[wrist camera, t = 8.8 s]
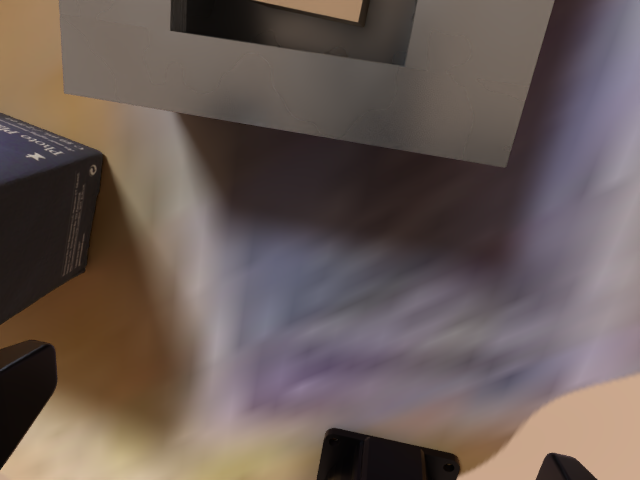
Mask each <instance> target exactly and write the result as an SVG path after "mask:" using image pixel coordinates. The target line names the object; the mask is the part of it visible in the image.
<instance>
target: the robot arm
mask: <svg viewBox="0 0 640 480" xmlns="http://www.w3.org/2000/svg"><path fill="white" fill-rule="evenodd" d="M56 385H57V366H56V352H55V348H54V346H53V345H51V344H50V343H46V342H41V341H36V340H28V341H25V342H22V343H19V344H16V345H12V346H9V347H6V348H3V349H0V470H1V468H2V467H3V466H4V464H5V463H6V462H7V460H8V459H9V457H10V456H11V455H12V453H13V452H14V450H15V449H16V447H17V446H18V444H19V443H20V441H21V440H22V439H23V437H24V436H25V434H26V433H27V431H28V430H29V428H30V427H31V425H32V424H33V422H34V421H35V419H36V418H37V416H38V415H39V414H40V412H41V411H42V409H43V408H44V406H45V405H46V403H47V402H48V400H49V399H50V397H51V396H52V394H53V393H54V391H55V388H56ZM332 438H336V439H338V440H332ZM445 464H451V465H445ZM459 470H460V466H459V460H458V458H457V457H456V456H455V455H454V454H451V453H447V452H442V451H438V450H433V449H429V448H424V447H419V446H415V445H410V444H406V443H401V442H397V441H392V440H387V439H383V438H378V437H374V436H369V435H365V434H360V433H355V432H351V431H346V430H342V429H337V428H331V429H329V430H327V431H326V433H325V437H324V443H323V448H322V453H321V459H320V464H319V469H318V475H317V480H456V479H457V476H458V473H459ZM536 480H597V479H596V478H595V477H594V476H593V475H592V474H591V473H590V472H589V471H588V470H587V469H586V468H585V467H584V466H583V465H582V464H581V463H580V462H579V461H577V460H576V459H575V458H573V457H570V456H566V455H561V454H557V453H549V454H547V456H546V457H545V459H544V461H543V464H542V466H541V468H540V470H539V473H538V475H537V478H536Z"/></svg>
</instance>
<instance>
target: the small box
mask: <svg viewBox="0 0 640 480" xmlns="http://www.w3.org/2000/svg"><path fill="white" fill-rule="evenodd" d="M102 161H103V154H102V153H101V152H100V151H98V150H96V149H93V148H90V147H88V146H85V145H83V144H80V143H77V142H75V141H72V140H70V139H67V138H65V137H62V136H59V135H57V134H54V133H52V132H49V131H47V130H44V129H41V128H39V127H36V126H34V125H31V124H29V123H26V122H23V121H21V120H18V119H15V118H13V117H10V116H8V115H5V114H3V113H0V325H1V324H2V323H4V322H5V321H7V320H8V319H9V318H11V317H13V316H14V315H16V314H17V313H19V312H21V311H22V310H24V309H25V308H27V307H28V306H30V305H31V304H33V303H34V302H36V301H37V300H38V299H40V298H41V297H43V296H45V295H46V294H48V293H49V292H51V291H52V290H54V289H55V288H57V287H59V286H61V285H62V284H64V283H65V282H67V281H69V280H70V279H72V278H74V277H76V276H78V275H79V274H81V273H84V272H85V267H86V265H87V258H88V257H87V251H88V248H89V239H90V233H91V228H92V221H93V215H94V212H95V205H96V199H97V195H98V194H99V191H100V189H99V188H100V179H101V167H102Z"/></svg>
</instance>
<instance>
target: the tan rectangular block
mask: <svg viewBox="0 0 640 480" xmlns="http://www.w3.org/2000/svg"><path fill="white" fill-rule="evenodd" d="M249 1H252V2H255V3H258V4H260V5H263V6H266V7H270V8H275V9H279V10H284V11H289V12H293V13H298V14H303V15H307V16H312V17H317V18H321V19H326V20H331V21H335V22H340V23H345V24H350V25H354V26H359V27H364V26H365V22H366V17H367V12H368V8H369V3H370V0H249Z"/></svg>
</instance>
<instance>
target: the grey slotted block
mask: <svg viewBox="0 0 640 480" xmlns="http://www.w3.org/2000/svg"><path fill="white" fill-rule="evenodd" d="M554 1H555V0H370V3H369V8H368V12H367V17H366V22H365V26H364V27H359V26H354V25H350V24H345V23H340V22H335V21H331V20H326V19H321V18H317V17H312V16H307V15H303V14H298V13H293V12H289V11H284V10H279V9H275V8H270V7H266V6H263V5H260V4H258V3H255V2H252V1H249V0H59V10H60V28H61V46H62V63H63V81H64V93H65V94H71V95H77V96H83V97H89V98H95V99H101V100H107V101H113V102H119V103H125V104H131V105H136V106H142V107H148V108H154V109H160V110H166V111H172V112H178V113H184V114H190V115H196V116H202V117H208V118H214V119H219V120H225V121H231V122H237V123H243V124H249V125H255V126H261V127H267V128H273V129H279V130H285V131H291V132H297V133H302V134H308V135H314V136H320V137H326V138H332V139H338V140H344V141H350V142H356V143H362V144H368V145H374V146H380V147H385V148H391V149H397V150H403V151H409V152H415V153H421V154H427V155H433V156H439V157H445V158H451V159H457V160H463V161H468V162H474V163H480V164H486V165H492V166H498V167H504V168H506V165H507V162H508V159H509V155H510V152H511V148H512V145H513V141H514V138H515V135H516V131H517V128H518V124H519V121H520V117H521V114H522V111H523V107H524V104H525V100H526V97H527V93H528V90H529V87H530V83H531V80H532V76H533V73H534V69H535V66H536V63H537V59H538V56H539V52H540V49H541V45H542V42H543V39H544V35H545V32H546V28H547V25H548V21H549V18H550V15H551V11H552V8H553V4H554Z"/></svg>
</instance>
